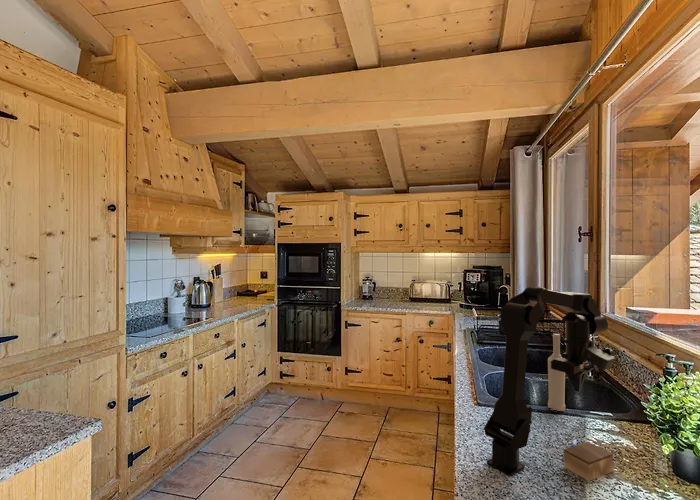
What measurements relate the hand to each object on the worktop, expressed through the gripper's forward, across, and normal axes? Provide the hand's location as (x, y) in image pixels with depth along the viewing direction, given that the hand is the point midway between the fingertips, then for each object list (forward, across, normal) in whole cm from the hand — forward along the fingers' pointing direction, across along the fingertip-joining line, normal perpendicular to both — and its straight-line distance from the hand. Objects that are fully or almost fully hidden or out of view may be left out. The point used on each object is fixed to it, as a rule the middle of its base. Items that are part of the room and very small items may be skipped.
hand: (577, 391), depth 105 cm
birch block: (+11, -10, -10) cm, 18 cm away
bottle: (+13, +14, +13) cm, 23 cm away
